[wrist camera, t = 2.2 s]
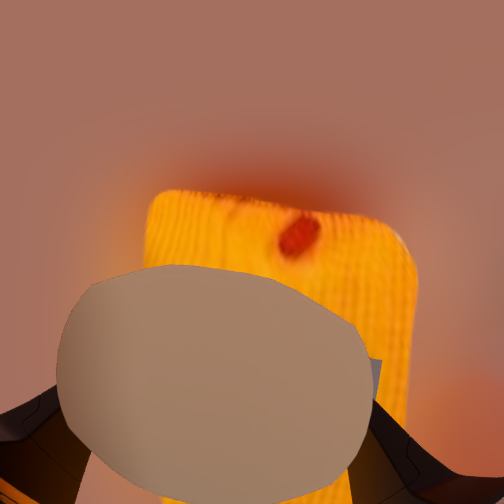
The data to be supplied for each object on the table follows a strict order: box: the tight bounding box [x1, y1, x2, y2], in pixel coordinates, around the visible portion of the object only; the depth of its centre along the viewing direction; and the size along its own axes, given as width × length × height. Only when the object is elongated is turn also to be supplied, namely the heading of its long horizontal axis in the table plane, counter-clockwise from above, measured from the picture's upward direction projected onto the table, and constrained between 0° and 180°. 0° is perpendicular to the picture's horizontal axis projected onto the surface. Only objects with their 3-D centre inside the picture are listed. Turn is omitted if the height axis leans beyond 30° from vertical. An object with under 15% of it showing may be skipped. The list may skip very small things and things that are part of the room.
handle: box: [56, 265, 373, 504], centre depth 11 cm, size 5×6×15 cm
